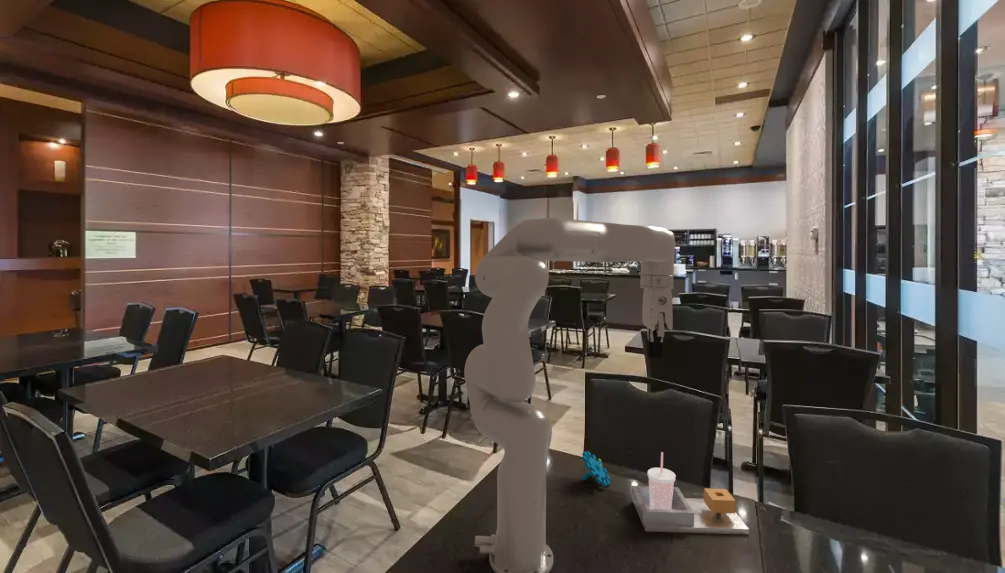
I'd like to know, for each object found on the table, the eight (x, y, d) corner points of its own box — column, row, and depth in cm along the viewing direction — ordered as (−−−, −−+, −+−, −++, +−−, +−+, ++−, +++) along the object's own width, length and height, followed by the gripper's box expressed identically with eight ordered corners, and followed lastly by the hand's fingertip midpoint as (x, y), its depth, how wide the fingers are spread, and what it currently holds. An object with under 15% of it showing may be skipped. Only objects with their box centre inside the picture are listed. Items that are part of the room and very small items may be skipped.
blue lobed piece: (608, 488, 116) (581, 455, 119) (590, 502, 118) (565, 468, 121) (615, 475, 126) (591, 444, 129) (599, 487, 128) (575, 457, 131)
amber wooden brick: (712, 512, 104) (712, 499, 104) (703, 500, 109) (704, 488, 109) (735, 513, 104) (735, 500, 103) (725, 501, 109) (725, 488, 108)
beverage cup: (642, 504, 110) (643, 447, 109) (666, 503, 110) (668, 446, 109) (653, 519, 104) (655, 459, 102) (679, 518, 104) (681, 457, 103)
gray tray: (643, 531, 101) (643, 512, 101) (630, 501, 113) (631, 484, 113) (748, 534, 100) (749, 515, 100) (725, 504, 112) (725, 486, 112)
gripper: (683, 284, 104) (680, 365, 106) (663, 280, 119) (661, 350, 121) (649, 284, 105) (646, 364, 106) (633, 280, 119) (631, 350, 121)
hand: (654, 357), depth 113 cm, fingers closed
